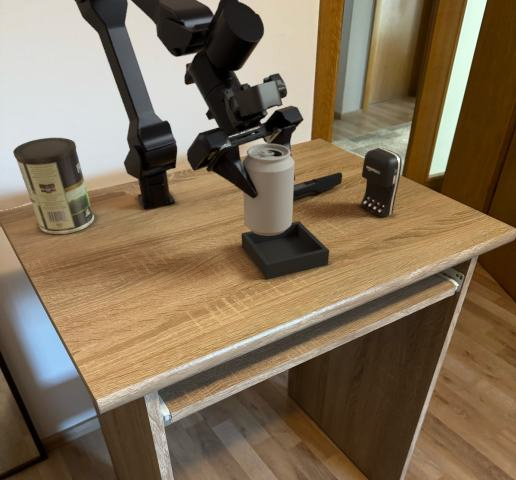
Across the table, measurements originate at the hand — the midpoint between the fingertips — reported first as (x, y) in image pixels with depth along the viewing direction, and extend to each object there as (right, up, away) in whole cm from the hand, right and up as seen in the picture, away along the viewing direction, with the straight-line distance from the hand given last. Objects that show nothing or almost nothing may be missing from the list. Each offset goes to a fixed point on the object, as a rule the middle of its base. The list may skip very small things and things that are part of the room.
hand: (274, 189), depth 72 cm
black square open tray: (+2, -8, +11) cm, 14 cm away
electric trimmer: (+8, +8, +30) cm, 32 cm away
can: (-1, -4, +5) cm, 7 cm away
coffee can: (-39, +1, +22) cm, 45 cm away
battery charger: (+20, +3, +23) cm, 31 cm away
